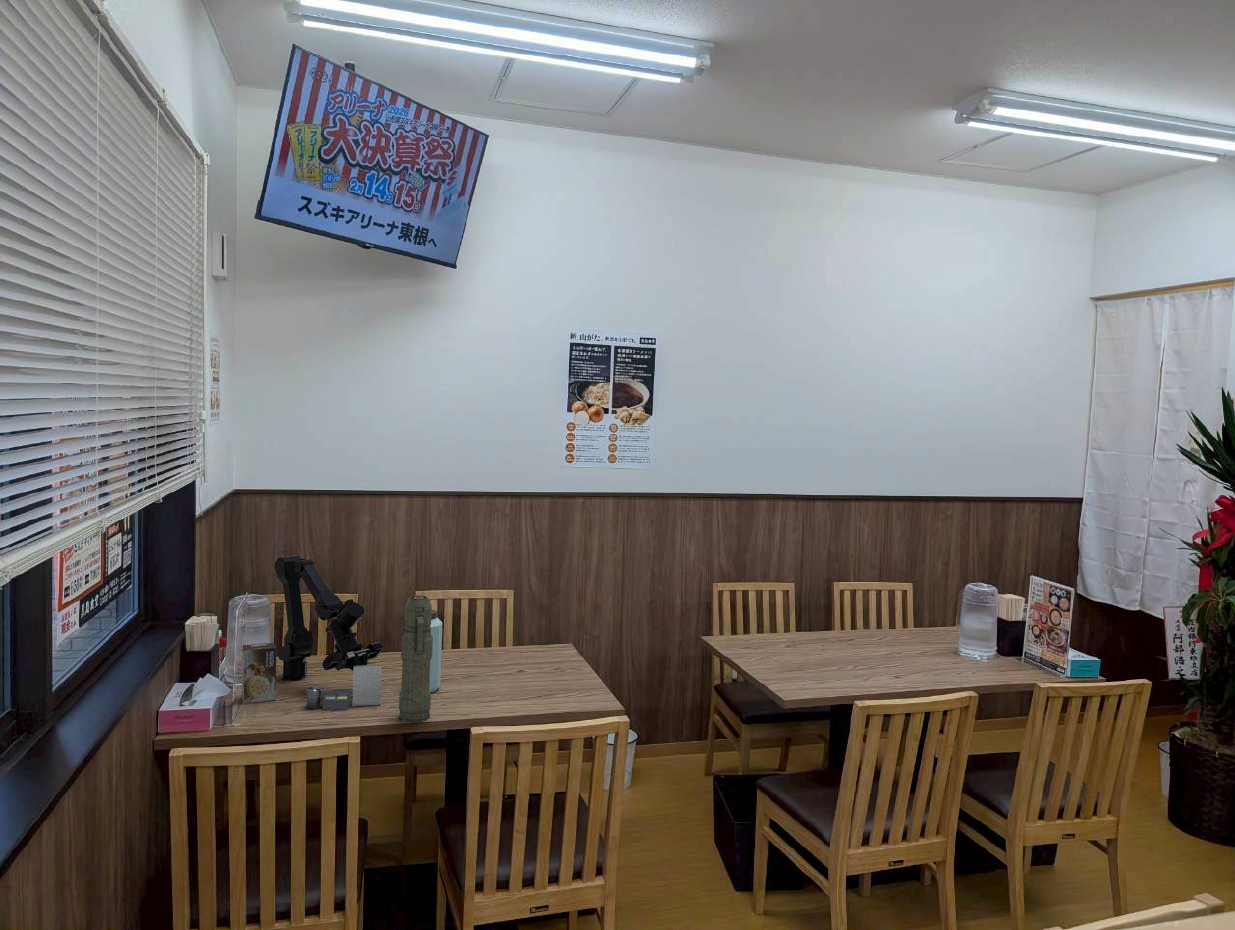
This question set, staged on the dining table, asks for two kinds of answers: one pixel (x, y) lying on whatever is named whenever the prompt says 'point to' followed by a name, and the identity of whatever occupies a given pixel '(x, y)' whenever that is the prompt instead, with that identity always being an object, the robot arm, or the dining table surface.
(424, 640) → the thermos
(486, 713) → the dining table surface
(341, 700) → the block
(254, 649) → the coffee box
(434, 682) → the water bottle
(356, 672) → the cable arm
